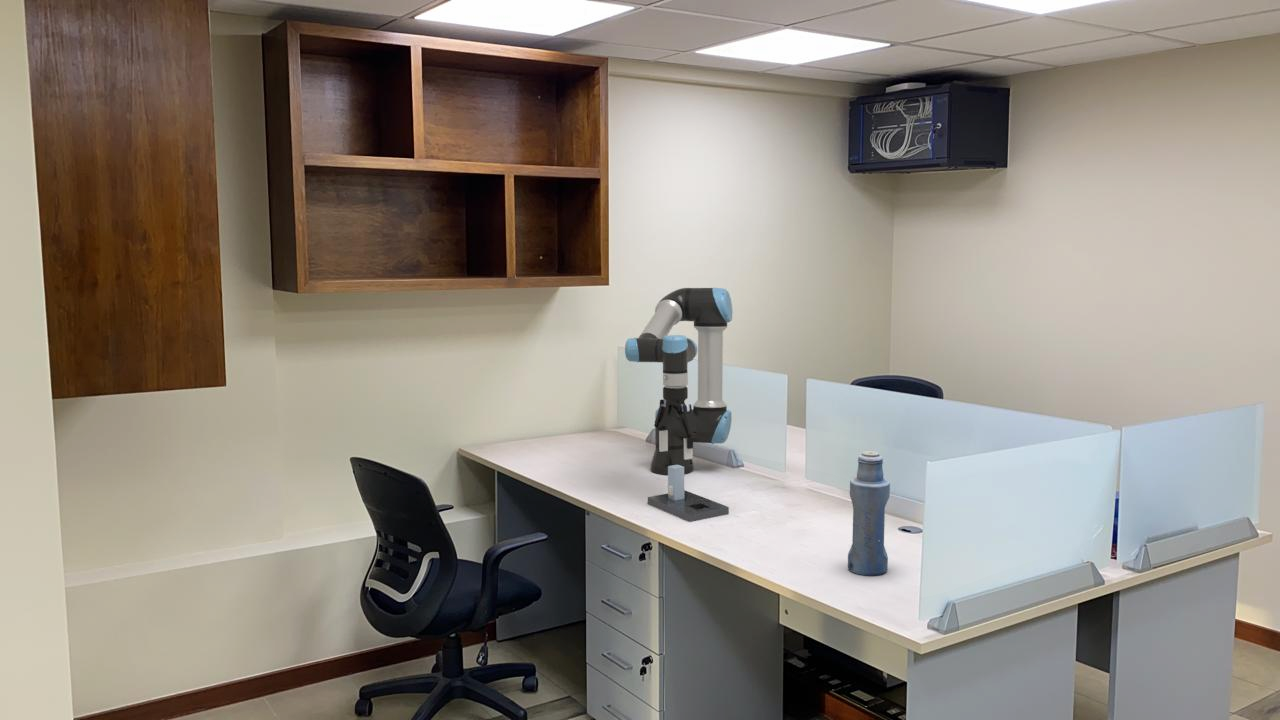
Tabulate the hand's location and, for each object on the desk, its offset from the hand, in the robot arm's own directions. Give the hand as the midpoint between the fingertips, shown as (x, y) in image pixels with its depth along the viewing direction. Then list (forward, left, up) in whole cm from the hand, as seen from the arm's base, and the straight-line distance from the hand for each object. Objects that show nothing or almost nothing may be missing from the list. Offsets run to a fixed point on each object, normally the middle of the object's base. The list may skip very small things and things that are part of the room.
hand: (675, 455), depth 305 cm
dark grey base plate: (0, +6, -16) cm, 17 cm away
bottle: (-8, +74, -17) cm, 76 cm away
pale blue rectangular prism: (0, 0, -16) cm, 16 cm away
